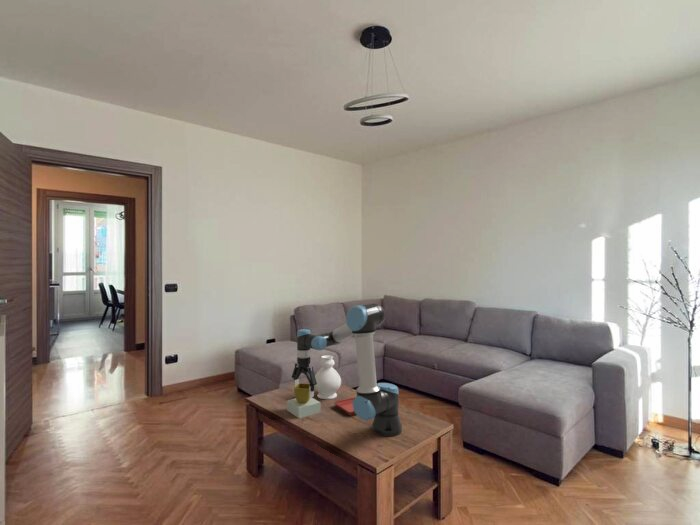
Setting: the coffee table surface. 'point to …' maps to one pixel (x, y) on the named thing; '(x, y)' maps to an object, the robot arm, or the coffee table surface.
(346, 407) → the plant saucer
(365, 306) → the robot arm
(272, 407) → the coffee table surface
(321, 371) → the decorative vase
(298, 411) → the sage block
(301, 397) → the flower pot
